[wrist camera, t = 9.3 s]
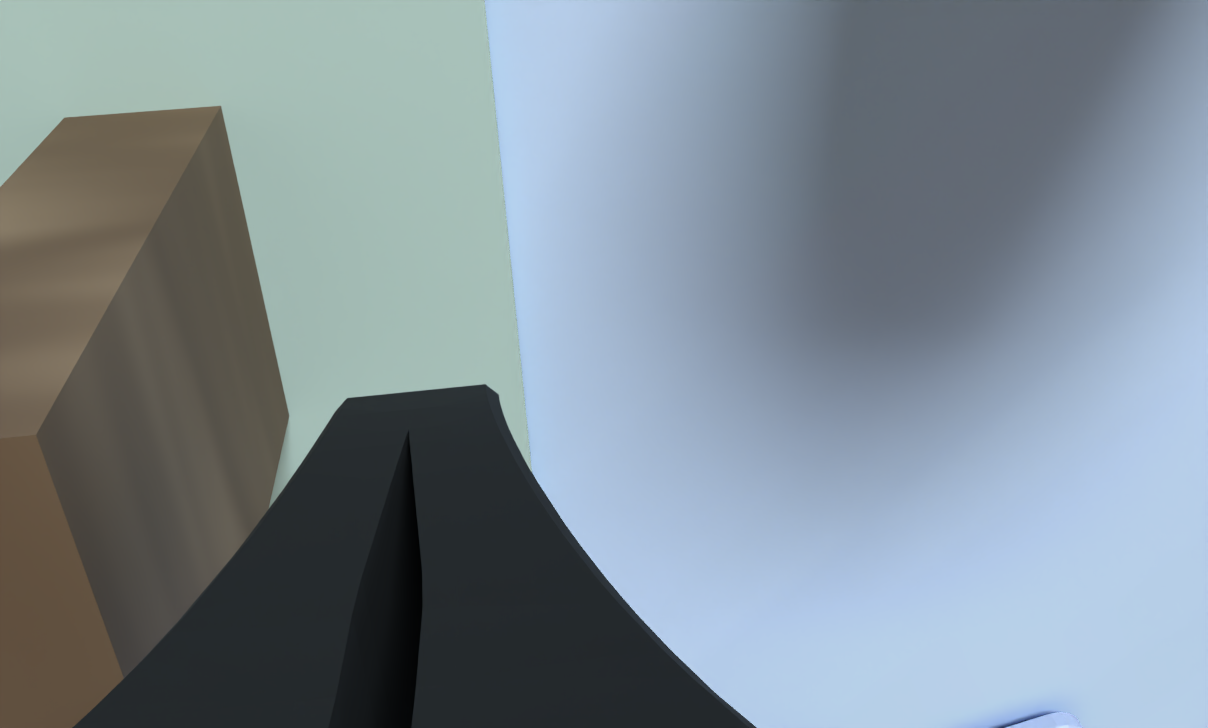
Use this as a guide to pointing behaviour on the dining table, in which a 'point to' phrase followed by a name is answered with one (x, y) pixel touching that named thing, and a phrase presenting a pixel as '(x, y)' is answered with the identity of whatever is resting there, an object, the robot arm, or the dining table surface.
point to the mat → (317, 173)
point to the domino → (124, 399)
